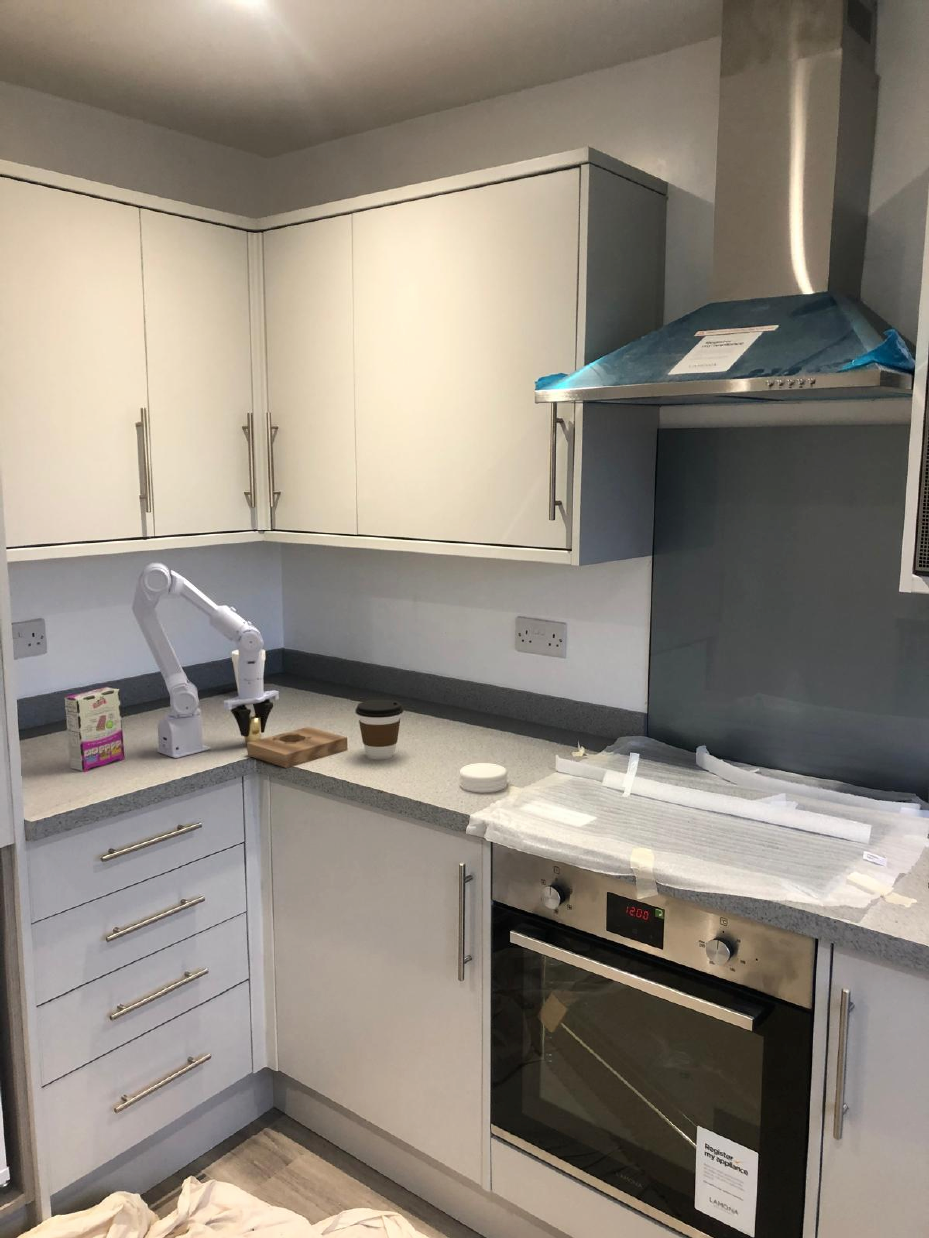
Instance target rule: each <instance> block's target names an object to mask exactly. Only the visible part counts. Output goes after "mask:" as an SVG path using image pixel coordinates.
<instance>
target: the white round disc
mask: <svg viewBox="0 0 929 1238" xmlns="http://www.w3.org/2000/svg"><path fill="white" fill-rule="evenodd" d="M458 779H459V786H460V788H462V789H463V790H465V791H467V792H472V793H481V794H486V793H495V792H499V791H502V790H504V789H505V788H506V787H507V786H508V770H507V768H505V767H504V766H502V765H499V764H495V763H491V762H490V763H487V762H483V763H482V762H481V763H480V762H479V763H477V762H476V763H471V764H467V765H465V766H463V767H461V768H460V770H459V778H458Z"/></svg>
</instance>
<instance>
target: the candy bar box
mask: <svg viewBox="0 0 929 1238" xmlns="http://www.w3.org/2000/svg"><path fill="white" fill-rule="evenodd" d="M120 695H121V693H120V688H113V687H110V686H109V687H108V686H105V687H102V688H96V689H92V690H90V691H89V690H88V691H86V692H85V691H84V692H81V693H77V694H73V695H69V696H65V697H64V698H63V699H64V706H65V707H64V709H65V710H64V711H65V719H66V720H65V721H66V729H67V730H66V731H67V732H66V733H67V741H68V744H67V745H68V753H69V755H68V756H69V766H70V769H72V770H74V771H79V772H85V773H86V772H88V771H91V770H95V769H98V768H102V767H104V766H106V765H110V764H113V763H115V762H116V763H117V762H118V761H122V760H124V759H125V746H124V734H123V724H122V722H123V721H122V709H121V697H120Z"/></svg>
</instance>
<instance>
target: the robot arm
mask: <svg viewBox="0 0 929 1238" xmlns="http://www.w3.org/2000/svg"><path fill="white" fill-rule="evenodd" d="M167 591H168V595H169V596H179V597H182V598H183V599H185V600H187V601H188V602H189V603H190V604H191V605H193V606H194V607H195V608H197V609H198V610H200V611H201V612H202V613H204V614H205V615H206V616H208V617H209V625H210V626H211V627H213V628H214V629H215V630H216V631H218V632H219V633H220V634H222V636H224V637H225V638H226V639H228V640H229V641H231V642H235V643H236V645H237V647H238V649H237V650H238V651H239V658H238V682H239V694H238V695H237V696H235V697H231V698H230V699H226V700H223V701H222V703H223V705H222V707H223V708H222V709H223V710H226V711H230V712H231V714H232V715H233V717H234V718H235V720H236V721H235V722H236V723H237V726H238V728H239V732H240V735H241V737H244V736H245V737H247V736H249V717H250V715H251V712H252V709H249V708H248V707H246V706H250V705H252V706H253V710H254V715H258V716H261V734H262V733H265V732H266V731H265V730H266V725H267V721H268V719H269V715H270V713H271V711H272V710H273V708H274V702H271V701H272V700H273V701H274V700H276V701H277V700H279V699H280V697H279V696H280V695H279V691H278V690H274V689H273V690H267V691H264V674H263V659H262V650H263V647H264V645H265V642H264V639H263V636H262V634H261V632H260V631H259V629H258V628H257V627H256V626H254V625H252V622H250V621H249V620H247V621H246V620H245V619H244V618H243V617H241V616H240V615H239V614H237V613H236V611H237V610H236V608H234V607H233V606H230V607H229V606H228V605H217V604H216V603H215V602H214V601H213V600H211V599H210V598H209V597H208V596H206V594H204V593H203V592H202V591H201V590H199V588H197V586H194V585H193V583H191V582H190V581H189V580H188V579H186V578H185V577H184V576H182V575H180V574H179V573H177V572H176V571H174V570H172V569H171V570H170V569H169V568H168V566H167V565H165V564H164V563H161V562H152V563H150V564H148V565H146V566H145V567H144V568H143V571H142V572H141V574H140V575H139V577H138V579H137V583H136V588H135V592H134V597H133V601H132V607H131V609H132V610H131V611H132V613H133V615H134V617H135V620H136V621H137V624H138V626H139V628H140V630H141V633H142V635H143V637H144V639H145V640H146V643H147V645H148V647H149V650H150V651H151V654H152V657H153V658H154V660H155V663H156V665H157V667H158V669H159V672H160V674H161V675H162V678H163V680H164V683H165V686H166V689H167V691H168V694H169V697H170V700H169V701H170V702H169V706H170V709H169V710H168V714H167V716H165V717H162V718H161V719H159V721H158V723H157V739H158V741H157V743H158V749H157V753H160V754H163V755H165V756H168V757H171V758H174V759H178V758H181V757H186V756H188V755H189V756H190V755H192V754H197V753H201V752H205V751H209V750H211V747H210V746H208V745H204V744H203V728H202V726H203V725H202V709H200V708H199V705H200V700H199V699H200V698H199V697H198V695H199V694H198V693H199V692H198V691H199V690H198V689H197V686H196V685H195V684H194V683H192V682H191V681H190V680H189V679H188V676H187V675H186V672H185V671H184V670H183V669H184V668H183V667H182V665H181V663H180V661H179V659H178V657H177V654H176V651H175V650H174V648H173V646H172V644H171V643H172V642H171V640H170V639H169V637H168V634H167V633H166V629H165V628H164V626H163V624H162V621H161V619H160V617H159V614H158V613H157V610H156V607H157V605H158V603H159V602H160V598H161V597H162V596H164V594H165V593H166V592H167ZM261 649H262V650H261Z"/></svg>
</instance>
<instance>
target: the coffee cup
mask: <svg viewBox="0 0 929 1238" xmlns="http://www.w3.org/2000/svg"><path fill="white" fill-rule="evenodd" d="M354 713H355V714H357V715H358V722H359V723H358V724H359V728H360V729H359V730H360V735H361V740H362V744H363V747H364V752H365V755H366V756H367V758H369V759H371V760H388V759H391V758H393V757H394V755H395V752H396V746H397V743H398V739H399V732H400V724H401V714H403V713H404V707H403V705H402V703H401V702H399V701H397V700H394V699H369V700H365V701H361V702H360V703H358V705H357V707H356V708H355V712H354Z"/></svg>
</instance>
